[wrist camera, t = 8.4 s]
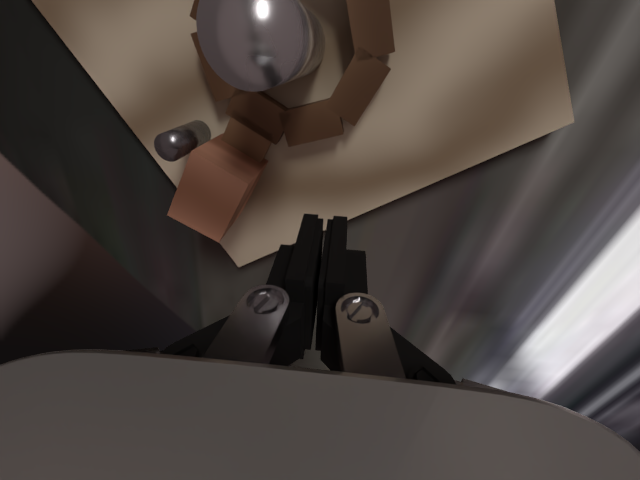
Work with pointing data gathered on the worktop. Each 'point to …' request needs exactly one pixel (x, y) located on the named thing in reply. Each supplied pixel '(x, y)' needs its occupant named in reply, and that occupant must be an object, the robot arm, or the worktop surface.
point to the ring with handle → (275, 125)
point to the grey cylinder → (249, 54)
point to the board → (376, 121)
